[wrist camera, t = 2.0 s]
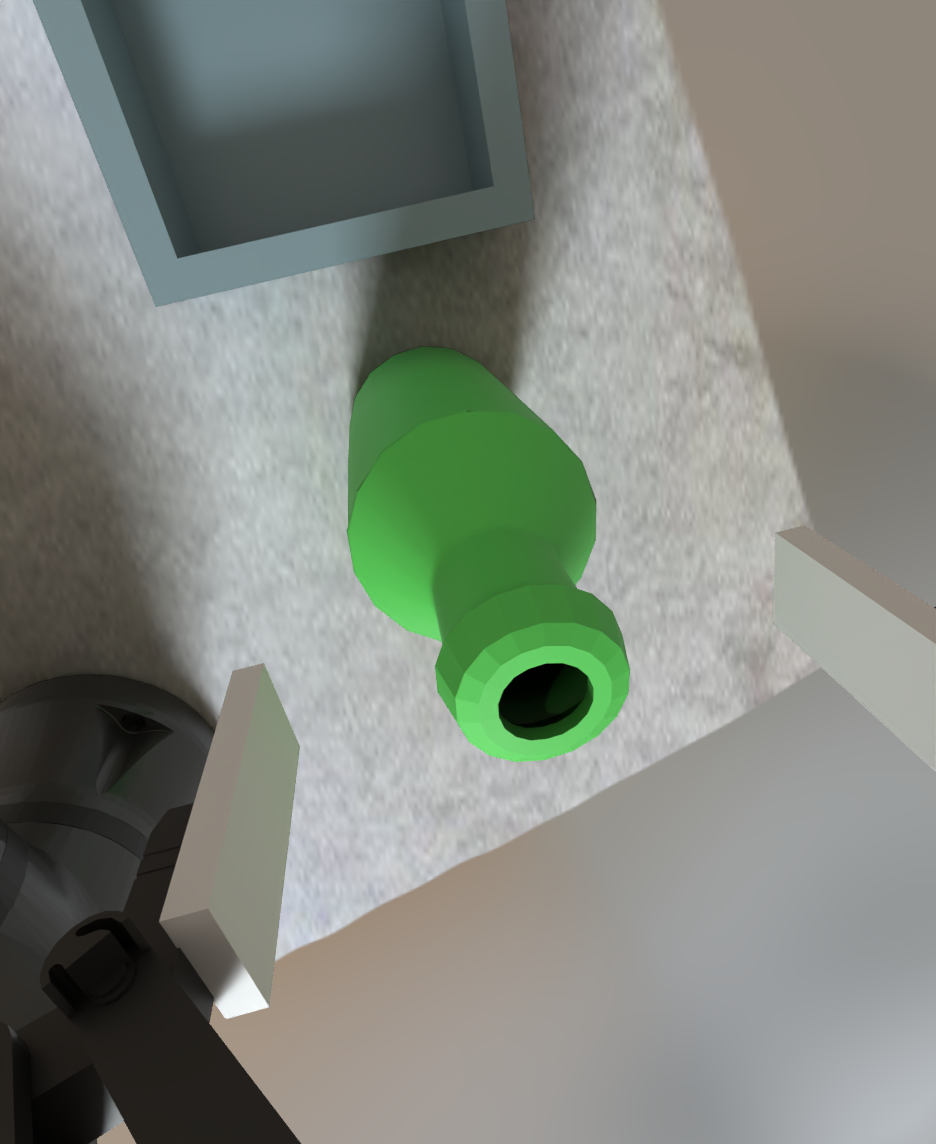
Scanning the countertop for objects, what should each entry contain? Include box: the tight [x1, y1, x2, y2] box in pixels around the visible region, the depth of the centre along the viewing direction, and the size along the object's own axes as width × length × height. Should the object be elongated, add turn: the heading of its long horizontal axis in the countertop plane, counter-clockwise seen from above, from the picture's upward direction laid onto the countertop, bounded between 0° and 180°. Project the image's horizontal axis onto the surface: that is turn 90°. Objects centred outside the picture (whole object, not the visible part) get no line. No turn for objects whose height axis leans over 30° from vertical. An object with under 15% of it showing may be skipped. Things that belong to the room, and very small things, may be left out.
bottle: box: [347, 347, 630, 762], centre depth 25 cm, size 9×9×25 cm
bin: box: [33, 0, 535, 307], centre depth 26 cm, size 16×16×6 cm
